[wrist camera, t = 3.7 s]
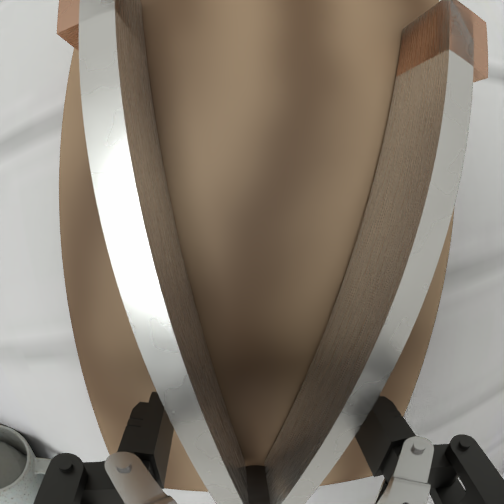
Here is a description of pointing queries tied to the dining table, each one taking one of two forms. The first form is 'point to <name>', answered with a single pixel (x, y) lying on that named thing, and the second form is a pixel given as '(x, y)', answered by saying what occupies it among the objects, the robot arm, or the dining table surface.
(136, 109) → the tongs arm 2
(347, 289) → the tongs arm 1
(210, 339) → the walnut board
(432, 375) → the dining table surface
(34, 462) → the ceramic mug
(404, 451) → the robot arm
